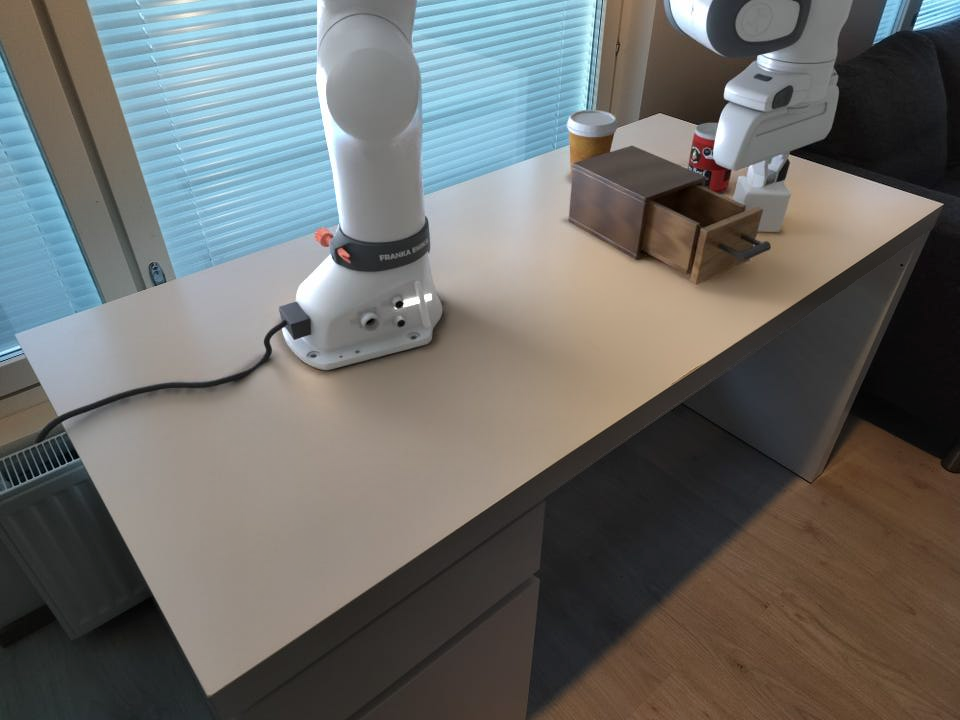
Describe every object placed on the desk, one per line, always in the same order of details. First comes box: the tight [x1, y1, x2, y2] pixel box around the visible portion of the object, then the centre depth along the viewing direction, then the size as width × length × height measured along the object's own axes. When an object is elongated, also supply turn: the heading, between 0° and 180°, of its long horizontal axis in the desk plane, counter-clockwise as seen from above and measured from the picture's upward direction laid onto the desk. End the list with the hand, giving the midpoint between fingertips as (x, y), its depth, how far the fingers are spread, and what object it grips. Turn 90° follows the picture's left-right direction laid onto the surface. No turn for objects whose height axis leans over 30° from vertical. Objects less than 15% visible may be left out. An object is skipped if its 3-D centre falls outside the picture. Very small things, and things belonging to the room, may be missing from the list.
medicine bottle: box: [732, 158, 791, 233], centre depth 115 cm, size 7×7×12 cm
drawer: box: [641, 184, 772, 286], centre depth 105 cm, size 20×12×9 cm, turn 35°
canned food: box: [687, 122, 733, 194], centre depth 127 cm, size 8×8×11 cm
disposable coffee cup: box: [566, 109, 619, 180], centre depth 130 cm, size 10×10×12 cm
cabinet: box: [568, 145, 706, 260], centre depth 114 cm, size 17×14×11 cm
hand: (763, 184), depth 93 cm, fingers closed
